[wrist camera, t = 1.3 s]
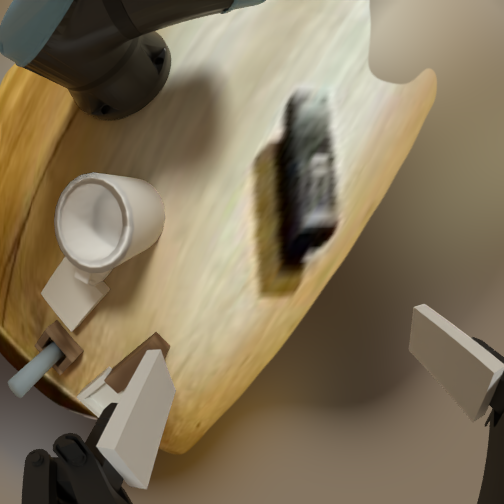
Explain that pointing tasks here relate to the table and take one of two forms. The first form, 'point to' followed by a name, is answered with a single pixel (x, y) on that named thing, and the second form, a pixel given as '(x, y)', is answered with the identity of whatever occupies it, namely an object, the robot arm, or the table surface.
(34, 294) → the table surface
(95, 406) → the tray
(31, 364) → the dowel
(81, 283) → the white flat block
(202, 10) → the robot arm
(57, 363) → the socket block
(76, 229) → the mug
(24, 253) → the table surface
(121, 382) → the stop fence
